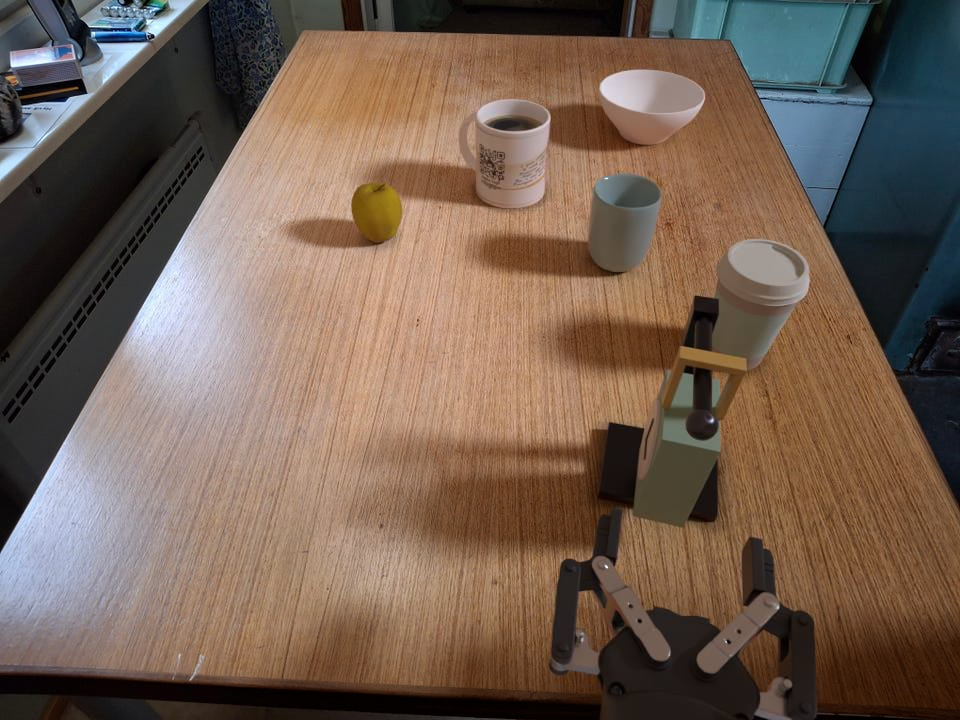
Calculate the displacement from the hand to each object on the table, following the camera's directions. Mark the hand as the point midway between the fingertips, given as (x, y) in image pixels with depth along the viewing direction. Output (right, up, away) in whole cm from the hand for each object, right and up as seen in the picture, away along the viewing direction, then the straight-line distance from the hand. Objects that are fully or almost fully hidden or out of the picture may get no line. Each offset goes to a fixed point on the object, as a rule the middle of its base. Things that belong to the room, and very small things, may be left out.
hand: (682, 528), depth 43 cm
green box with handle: (+2, 0, +13) cm, 13 cm away
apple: (-26, +27, +44) cm, 58 cm away
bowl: (+13, +47, +64) cm, 81 cm away
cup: (+4, +23, +41) cm, 47 cm away
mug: (-9, +35, +53) cm, 65 cm away
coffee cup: (+14, +11, +29) cm, 35 cm away
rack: (+3, -2, +16) cm, 16 cm away
